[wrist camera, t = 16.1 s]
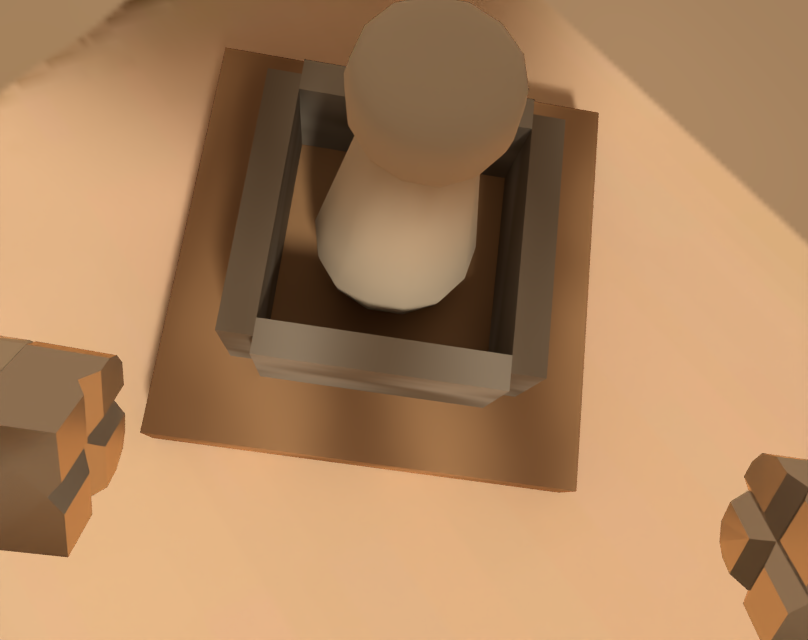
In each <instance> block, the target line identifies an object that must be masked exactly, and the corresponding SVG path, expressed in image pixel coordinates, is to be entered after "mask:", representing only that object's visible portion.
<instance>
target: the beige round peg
mask: <svg viewBox="0 0 808 640" xmlns="http://www.w3.org/2000/svg"><path fill="white" fill-rule="evenodd" d="M344 89H345V100H346V110H347V120H348V126H349V127H350V129H351V131H352V132H353V134H354V135H355V136H354V138H353V140H352V142H351V144H350V146H349V149H348V151H347V153H346V155H345V157H344V159H343V162H342V164H341V166H340V168H339V170H338V172H337V175H336V177H335V179H334V181H333V183H332V185H331V187H330V190H329V192H328V194H327V196H326V198H325V200H324V202H323V205H322V207H321V209H320V211H319V213H318V215H317V218H316V220H315V225H316V237H317V249H318V256H319V259H320V261H321V262H322V264H323V266H324V267H325V269H326V271H327V272H328V274H329V276H330V278H331V279H332V281H333V283H334V284H335V286H336V288H337V289H338V290H339V291H341V292H342V293H344V294H345V295H347V296H348V297H350V298H351V299H353V300H354V301H356V302H357V303H359V304H360V305H362V306H363V307H365V308H366V309H370V310H377V311H383V312H390V313H396V314H405V313H409V312H412V311H416V310H419V309H422V308H426V307H429V306H433V305H436V304H437V303H438V302H439V301H441V300H442V299H443V298H444V297H445V296H446V295H447V294H448V293H449V292H450V291H452V290H453V289H454V288H455V287H456V286H457V285H458V284H459V283H460V282H461V281H463V280H464V279H465V276H466V273H467V271H468V268H469V265H470V262H471V259H472V256H473V254H474V251H475V248H476V234H477V216H478V198H479V180H480V174H481V173H482V172H483V171H484V170H485V169H487V168H488V167H489V166H490V165H491V164H493V163H494V162H495V161H496V160H497V159H498V158H500V157H501V156H502V155H503V154H504V153H505V152H506V151H507V150H508V148H509V146H510V145H511V143H512V142H513V140H514V138H515V135H516V132H517V129H518V126H519V123H520V121H521V118H522V115H523V112H524V109H525V106H526V101H527V96H528V90H529V88H528V81H527V74H526V67H525V59H524V54H523V52H522V51H521V49H520V48H519V47H518V45H517V44H516V42H515V41H514V40H513V38H512V37H511V35H510V34H509V33H508V31H507V30H506V28H505V27H504V26H503V24H502V23H500V22H499V21H497V20H496V19H494V18H493V17H491V16H490V15H488V14H487V13H485V12H483V11H482V10H480V9H479V8H477V7H476V6H474V5H473V4H471V3H470V2H464V1H459V0H406V1H401V2H396V3H393V4H391V5H390V6H389V7H387V8H386V9H385V10H384V11H382V12H381V13H380V14H378V15H377V16H376V17H374V18H373V19H372V20H371V21H369V22H368V23H367V24H365V25H364V28H363V30H362V32H361V34H360V36H359V38H358V40H357V42H356V44H355V47H354V49H353V51H352V53H351V55H350V57H349V60H348V63H347V65H346V68H345V71H344Z"/></svg>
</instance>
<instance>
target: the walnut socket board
mask: <svg viewBox="0 0 808 640" xmlns="http://www.w3.org/2000/svg"><path fill="white" fill-rule="evenodd" d="M345 68H346V66H340V65H334V64H329V63H323V62H317V61H312V60H306V59H305V60H304V61H300V60H294V59H288V58H283V57H277V56H271V55H266V54H260V53H254V52H248V51H243V50H237V49H231V48H225V53H224V57H223V62H222V66H221V71H220V75H219V80H218V84H217V89H216V93H215V98H214V102H213V107H212V111H211V116H210V120H209V125H208V129H207V134H206V138H205V143H204V147H203V152H202V156H201V161H200V165H199V170H198V174H197V179H196V183H195V188H194V192H193V197H192V201H191V206H190V210H189V215H188V219H187V224H186V228H185V233H184V237H183V242H182V246H181V251H180V255H179V260H178V264H177V269H176V273H175V278H174V282H173V287H172V291H171V296H170V300H169V305H168V309H167V314H166V318H165V323H164V327H163V332H162V336H161V341H160V345H159V350H158V354H157V359H156V363H155V368H154V372H153V377H152V381H151V386H150V390H149V395H148V399H147V404H146V408H145V413H144V417H143V422H142V426H141V431H140V433H143V434H145V435H147V436H150V437H152V438H158V439H165V440H173V441H180V442H188V443H195V444H203V445H210V446H217V447H225V448H232V449H240V450H247V451H255V452H262V453H269V454H277V455H284V456H292V457H299V458H307V459H314V460H322V461H329V462H336V463H344V464H351V465H359V466H366V467H374V468H381V469H388V470H396V471H403V472H411V473H418V474H426V475H433V476H440V477H448V478H455V479H463V480H470V481H478V482H485V483H492V484H500V485H507V486H515V487H522V488H530V489H537V490H544V491H552V492H574V491H576V488H577V471H578V454H579V437H580V420H581V403H582V386H583V369H584V352H585V335H586V318H587V301H588V284H589V267H590V250H591V233H592V216H593V199H594V182H595V165H596V148H597V131H598V114H599V113H597V112H591V111H586V110H580V109H574V108H568V107H563V106H557V105H551V104H546V103H540V102H534V101H535V100H534V99H528V98H527V101H526V106H525V109H524V112H523V115H522V118H521V121H520V123H519V126H518V129H517V132H516V135H515V138H514V140H513V142H512V143H511V145H510V146H509V148H508V150H507V151H506V152H505V153H504V154H503V155H502V156H501V157H500V158H498V159H497V160H496V161H495V162H494V163H493V164H491V165H490V166H489V167H488V168H487V169H485V170H484V171H483V172H482V173H481V174H480V180H479V198H478V216H477V234H476V248H475V251H474V254H473V256H472V259H471V262H470V265H469V268H468V271H467V273H466V276H465V279H464V280H463V281H461V282H460V283H459V284H458V285H457V286H456V287H455V288H454V289H453V290H452V291H450V292H449V293H448V294H447V295H446V296H445V297H444V298H443V299H442V300H441V301H439V302H438V303H437V304H436V305H433V306H429V307H426V308H422V309H419V310H416V311H412V312H409V313H405V314H396V313H390V312H383V311H377V310H370V309H366V308H365V307H363V306H362V305H360V304H359V303H357V302H356V301H354V300H353V299H351V298H350V297H348V296H347V295H345V294H344V293H342V292H341V291H339V290H338V289H337V288H336V286H335V284H334V283H333V281H332V279H331V278H330V276H329V274H328V272H327V271H326V269H325V267H324V266H323V264H322V262H321V261H320V259H319V256H318V249H317V237H316V225H315V220H316V218H317V215H318V213H319V211H320V209H321V207H322V205H323V202H324V200H325V198H326V196H327V194H328V192H329V190H330V187H331V185H332V183H333V181H334V179H335V177H336V175H337V172H338V170H339V168H340V166H341V164H342V162H343V159H344V157H345V155H346V153H347V151H348V149H349V146H350V144H351V142H352V140H353V138H354V136H355V135H354V134H353V132H352V131H351V129H350V127H349V126H348V120H347V110H346V100H345V89H344V71H345Z"/></svg>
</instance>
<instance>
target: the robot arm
mask: <svg viewBox="0 0 808 640" xmlns="http://www.w3.org/2000/svg"><path fill="white" fill-rule="evenodd" d="M123 385H124V381H123V368H122V361H121V360H120V359H119V357H118V356H117V355H113V354H107V353H101V352H95V351H89V350H84V349H78V348H72V347H66V346H60V345H54V344H49V343H43V342H37V341H36V342H33V341H30V340H24V339H18V338H11V337H4V336H0V550H5V551H14V552H23V553H33V554H42V555H52V556H61V557H69V555H70V553H71V551H72V549H73V548H74V546H75V544H76V542H77V541H78V539H79V537H80V535H81V533H82V532H83V530H84V528H85V526H86V524H87V523H88V521H89V519H90V517H91V516H92V502H91V496H92V495H94V494H96V493H98V492H99V491H101V490H103V489H105V488H107V486H108V485H109V483H110V481H111V479H112V477H113V475H114V473H115V471H116V469H117V465H118V462H119V459H120V456H121V452H122V449H123V443H124V434H125V413H124V412H123V411H122V409H121V408H120V407H119V406H118V404H117V403H116V402H115V401H114V399H115V398H116V396H117V395H118V393H119V391H120V390H121V388H122V386H123ZM744 478H745V481H746V484H747V487H748V490H749V491H747V492H746V493H744V494H742V495H741V496H739V497H737V498H736V499H734V500H733V501H731V502H730V504H729V506H728V508H727V510H726V512H725V514H724V517H723V519H722V521H721V530H720V541H719V542H720V547H721V553H722V558H723V560H724V562H725V565H726V567H727V569H728V572H729V574H730V575H731V576H732V577H734V578H735V579H736V580H737V581H738V582H739V583H740V584H741V585H743V586H744V587H745V588H746V589H747V590H748V591H747V594H746V597H745V599H744V602H743V604H744V607H745V609H746V611H747V613H748V615H749V617H750V619H751V622H752V624H753V626H754V628H755V630H756V632H757V634H758V637H759V639H760V640H808V459H800V458H793V457H786V456H779V455H772V454H765V453H762V454H761V455H760V456H758V457H757V458H756V459H755V460H754V461H752V463H751V465H750V467H749V468H748V470H747V472H746V474H745V476H744Z"/></svg>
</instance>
